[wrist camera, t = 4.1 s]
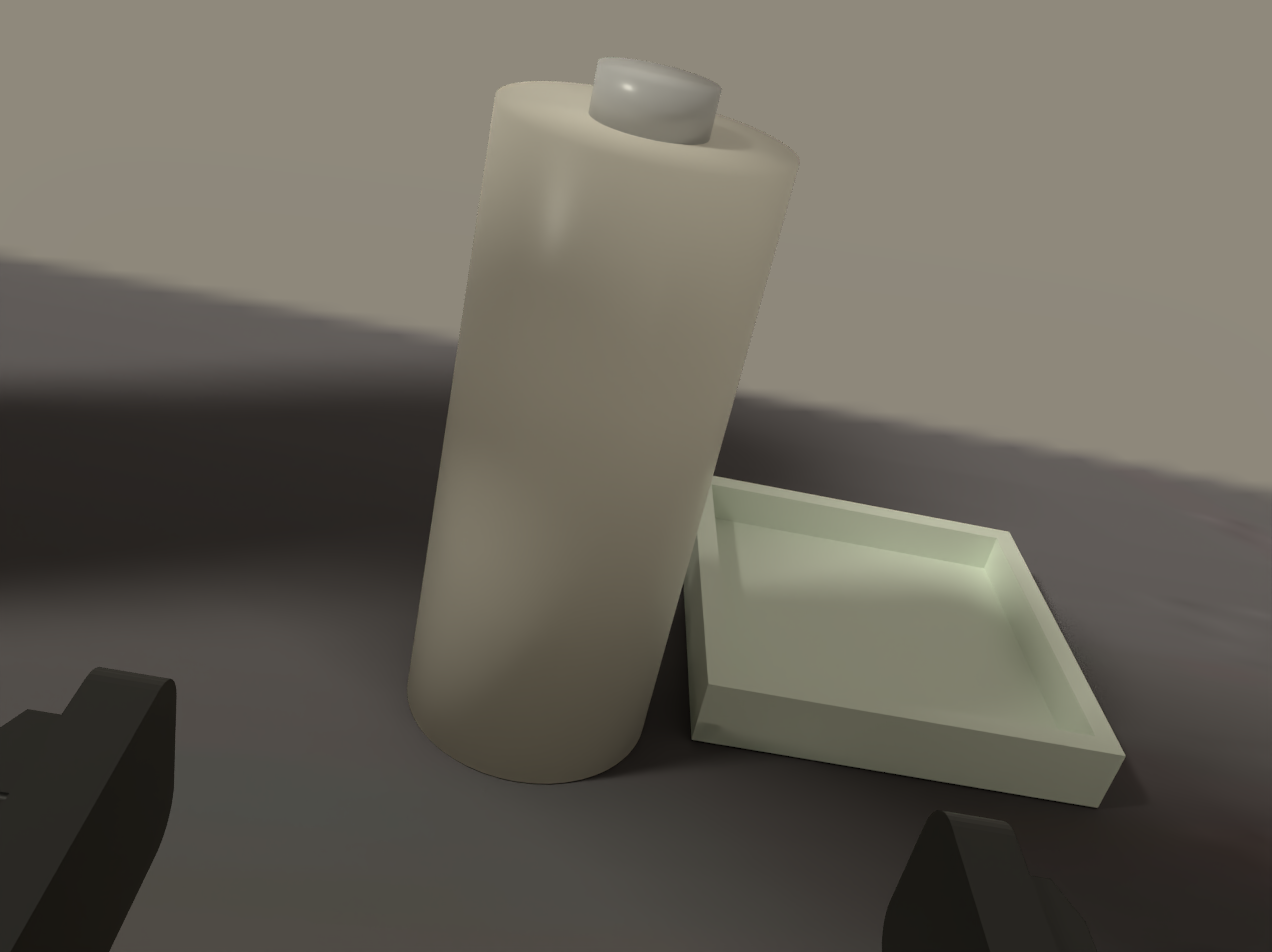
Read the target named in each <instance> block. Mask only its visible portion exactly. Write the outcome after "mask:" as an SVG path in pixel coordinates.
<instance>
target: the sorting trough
mask: <svg viewBox="0 0 1272 952" xmlns="http://www.w3.org/2000/svg"><path fill="white" fill-rule="evenodd" d="M683 584H684V604H685V624H686V643H687V663H688V683H689V702H690V722H691V740H696V741H702V742H708V743H714V744H720V745H726V746H732V747H738V748H744V749H750V750H756V751H762V752H768V753H774V754H780V755H786V756H792V757H797V758H803V759H809V760H815V761H821V762H827V763H833V764H839V765H845V766H851V767H857V768H863V769H869V770H875V771H881V772H887V773H893V774H899V775H905V776H911V777H916V778H922V779H928V780H934V781H940V782H946V783H952V784H958V785H964V786H970V787H976V788H982V789H988V790H994V791H1000V792H1006V793H1012V794H1018V795H1024V796H1029V797H1035V798H1041V799H1047V800H1053V801H1059V802H1065V803H1071V804H1077V805H1083V806H1089V807H1095V808H1098V807H1099V805H1100V803H1101V801H1102V799H1103V798H1104V796H1105V794H1106V792H1107V790H1108V788H1109V786H1110V785H1111V783H1112V781H1113V779H1114V777H1115V775H1116V774H1117V772H1118V770H1119V768H1120V766H1121V764H1122V762H1123V761H1124V759H1125V757H1126V755H1125V753H1124V752H1123V750H1122V748H1121V746H1120V744H1119V742H1118V740H1117V738H1116V736H1115V734H1114V732H1113V730H1112V729H1111V727H1110V725H1109V723H1108V721H1107V719H1106V717H1105V715H1104V713H1103V711H1102V709H1101V707H1100V705H1099V704H1098V702H1097V700H1096V698H1095V696H1094V694H1093V692H1092V690H1091V688H1090V686H1089V684H1088V682H1087V681H1086V679H1085V677H1084V675H1083V673H1082V671H1081V669H1080V667H1079V665H1078V663H1077V661H1076V659H1075V657H1074V656H1073V654H1072V652H1071V650H1070V648H1069V646H1068V644H1067V642H1066V640H1065V638H1064V636H1063V634H1062V633H1061V631H1060V629H1059V627H1058V625H1057V623H1056V621H1055V619H1054V617H1053V615H1052V613H1051V611H1050V609H1049V608H1048V606H1047V604H1046V602H1045V600H1044V598H1043V596H1042V594H1041V592H1040V590H1039V588H1038V586H1037V585H1036V583H1035V581H1034V579H1033V577H1032V575H1031V573H1030V571H1029V569H1028V567H1027V565H1026V563H1025V561H1024V560H1023V558H1022V556H1021V554H1020V552H1019V550H1018V548H1017V546H1016V544H1015V542H1014V540H1013V538H1012V537H1011V535H1010V533H1009V532H1007V531H1001V530H996V529H991V528H986V527H980V526H975V525H970V524H965V523H959V522H954V521H949V520H944V519H938V518H933V517H928V516H923V515H917V514H912V513H907V512H901V511H896V510H891V509H886V508H880V507H875V506H870V505H865V504H859V503H854V502H849V501H844V500H838V499H833V498H828V497H823V496H817V495H812V494H807V493H801V492H796V491H791V490H786V489H780V488H775V487H770V486H765V485H759V484H754V483H749V482H744V481H738V480H733V479H728V478H723V477H717V476H713V478H712V481H711V485H710V488H709V492H708V496H707V499H706V503H705V506H704V510H703V514H702V517H701V521H700V524H699V528H698V532H697V535H696V539H695V542H694V546H693V550H692V553H691V557H690V560H689V564H688V568H687V571H686V575H685V578H684V582H683Z"/></svg>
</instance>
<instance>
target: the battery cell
mask: <svg viewBox="0 0 1272 952" xmlns="http://www.w3.org/2000/svg"><path fill="white" fill-rule="evenodd" d="M721 89H722V88H721V87H720V86H719V85H718V84H717V83H715V82H713V81H711V80H709V79H707V78H704V77H702V76H699V75H697V74H694V73H691V72H688V71H685V70H681V69H678V68H674V67H670V66H666V65H662V64H658V63H653V62H648V61H642V60H636V59H629V58H617V57H608V58H601V59H599V60H598V64H597V69H596V75H595V80H594V85H588V84H580V83H570V82H554V81H530V82H519V83H513V84H509V85H505V86H503V87H501V88H499V89H498V90H497V91H496V94H495V100H494V107H493V113H492V120H491V127H490V133H489V141H488V147H487V154H486V160H485V167H484V174H483V181H482V187H481V194H480V201H479V207H478V214H477V221H476V228H475V235H474V241H473V248H472V255H471V261H470V268H469V274H468V282H467V288H466V295H465V302H464V308H463V315H462V322H461V328H460V335H459V341H458V348H457V355H456V362H455V368H454V375H453V382H452V388H451V395H450V402H449V409H448V415H447V422H446V429H445V435H444V442H443V449H442V455H441V462H440V469H439V476H438V482H437V489H436V496H435V502H434V509H433V516H432V523H431V529H430V536H429V543H428V549H427V556H426V563H425V570H424V576H423V583H422V590H421V596H420V603H419V610H418V617H417V623H416V630H415V637H414V643H413V650H412V657H411V663H410V670H409V677H408V684H407V698H408V703H409V707H410V710H411V712H412V715H413V717H414V719H415V721H416V723H417V724H418V726H419V727H420V729H421V730H422V731H423V733H424V734H425V735H426V736H427V737H428V738H429V740H430V741H431V742H433V743H434V744H435V745H436V746H437V747H438V748H439V749H440V750H442V751H443V752H445V753H446V754H448V755H449V756H450V757H452V758H453V759H455V760H457V761H459V762H460V763H462V764H464V765H466V766H468V767H470V768H473V769H475V770H477V771H480V772H482V773H485V774H488V775H491V776H495V777H498V778H502V779H507V780H511V781H516V782H525V783H535V784H553V783H566V782H571V781H577V780H582V779H585V778H588V777H592V776H595V775H597V774H599V773H602V772H604V771H606V770H608V769H610V768H611V767H613V766H615V765H616V764H618V763H619V762H620V761H622V760H623V759H624V758H625V757H626V756H627V755H628V754H629V753H630V752H631V751H632V749H633V748H634V747H635V745H636V744H637V742H638V740H639V738H640V736H641V733H642V729H643V726H644V722H645V719H646V715H647V712H648V708H649V704H650V701H651V697H652V694H653V690H654V686H655V683H656V679H657V676H658V672H659V668H660V665H661V661H662V658H663V654H664V650H665V647H666V643H667V640H668V636H669V632H670V629H671V625H672V622H673V618H674V614H675V611H676V607H677V604H678V600H679V596H680V593H681V589H682V586H683V582H684V578H685V575H686V571H687V568H688V564H689V560H690V557H691V553H692V550H693V546H694V542H695V539H696V535H697V532H698V528H699V524H700V521H701V517H702V514H703V510H704V506H705V503H706V499H707V496H708V492H709V488H710V485H711V481H712V478H713V474H714V470H715V467H716V463H717V460H718V456H719V452H720V449H721V445H722V442H723V438H724V434H725V431H726V427H727V424H728V420H729V416H730V413H731V409H732V406H733V402H734V398H735V395H736V391H737V388H738V384H739V380H740V377H741V373H742V370H743V366H744V362H745V359H746V355H747V351H748V348H749V344H750V341H751V337H752V333H753V330H754V326H755V323H756V319H757V315H758V312H759V308H760V305H761V301H762V298H763V294H764V290H765V287H766V283H767V280H768V276H769V272H770V269H771V265H772V261H773V258H774V254H775V251H776V247H777V244H778V240H779V236H780V233H781V229H782V226H783V222H784V218H785V215H786V211H787V208H788V204H789V200H790V196H791V193H792V190H793V186H794V182H795V179H796V175H797V172H798V167H799V164H800V160H799V157H798V156H797V154H796V153H795V152H794V151H793V150H792V149H791V148H790V147H788V146H787V145H785V144H784V143H783V142H781V141H779V140H777V139H776V138H774V137H772V136H771V135H768V134H766V133H764V132H762V131H760V130H758V129H756V128H754V127H751V126H749V125H747V124H744V123H742V122H739V121H736V120H734V119H731V118H728V117H725V116H722V115H719V114H717V113H716V110H717V107H718V102H719V98H720V94H721Z"/></svg>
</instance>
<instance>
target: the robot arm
mask: <svg viewBox="0 0 1272 952" xmlns="http://www.w3.org/2000/svg"><path fill="white" fill-rule="evenodd" d="M175 727H176V686H175V682H174V681H173V680H172V679H168V678H162V677H156V676H150V675H144V674H138V673H132V672H126V671H120V670H114V669H108V668H102V667H97V668H95V669H94V670H92V671H91V672H90V673H89V675H88V676H87V677H86V679H85V680H84V682H83V683H82V685H81V686H80V688H79V689H78V691H77V692H76V694H75V695H74V697H73V698H72V700H71V701H70V703H69V704H68V706H67V707H66V709H65V710H64V712H63V713H62V715H60V714H53V713H47V712H41V711H35V710H29V709H27V710H26V711H24V712H23V713H21V714H20V715H18V716H17V717H15V718H14V719H12V720H11V721H9V722H8V723H6V724H5V725H3V726H2V727H0V952H109V951H110V949H111V947H112V945H113V942H114V940H115V938H116V936H117V934H118V932H119V930H120V928H121V926H122V924H123V922H124V920H125V918H126V915H127V913H128V911H129V909H130V907H131V905H132V903H133V901H134V899H135V897H136V895H137V893H138V891H139V888H140V886H141V884H142V882H143V880H144V878H145V876H146V874H147V872H148V870H149V868H150V866H151V863H152V861H153V859H154V857H155V855H156V853H157V851H158V848H159V846H160V843H161V841H162V838H163V835H164V832H165V829H166V826H167V822H168V818H169V814H170V809H171V804H172V799H173V790H174V762H175ZM882 952H1097V950H1096V947H1095V945H1094V942H1093V940H1092V937H1091V935H1090V932H1089V930H1088V927H1087V925H1086V923H1085V921H1084V920H1083V918H1082V917H1081V916H1080V915H1079V913H1078V912H1077V911H1076V910H1075V908H1074V907H1073V906H1072V905H1071V904H1070V902H1069V901H1068V900H1067V899H1066V897H1065V896H1064V895H1063V894H1062V892H1061V891H1060V890H1059V889H1058V887H1057V886H1056V885H1055V884H1054V882H1053V881H1052V880H1051V879H1048V878H1042V877H1036V876H1030V874H1029V871H1028V868H1027V865H1026V863H1025V860H1024V857H1023V854H1022V852H1021V849H1020V846H1019V844H1018V841H1017V838H1016V835H1015V833H1014V831H1013V829H1012V828H1011V826H1010V825H1009V824H1008V823H1007V822H1005V821H1001V820H995V819H989V818H983V817H977V816H971V815H965V814H959V813H953V812H947V811H941V810H937V811H935V812H933V813H932V814H931V815H930V817H929V818H928V820H927V821H926V823H925V825H924V828H923V830H922V832H921V834H920V837H919V839H918V841H917V843H916V845H915V848H914V850H913V852H912V854H911V856H910V859H909V861H908V863H907V865H906V868H905V870H904V872H903V874H902V876H901V879H900V881H899V883H898V885H897V887H896V890H895V892H894V894H893V896H892V898H891V901H890V903H889V906H888V909H887V912H886V916H885V921H884V927H883V936H882Z"/></svg>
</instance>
